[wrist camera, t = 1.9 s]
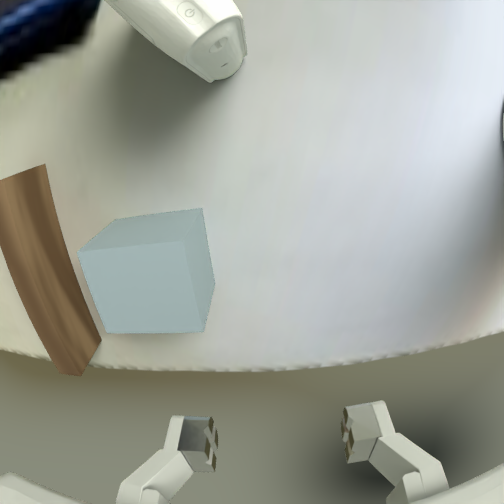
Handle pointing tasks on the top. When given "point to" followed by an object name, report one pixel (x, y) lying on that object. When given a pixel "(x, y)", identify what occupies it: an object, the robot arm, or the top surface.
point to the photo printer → (191, 32)
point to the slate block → (151, 273)
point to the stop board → (45, 270)
